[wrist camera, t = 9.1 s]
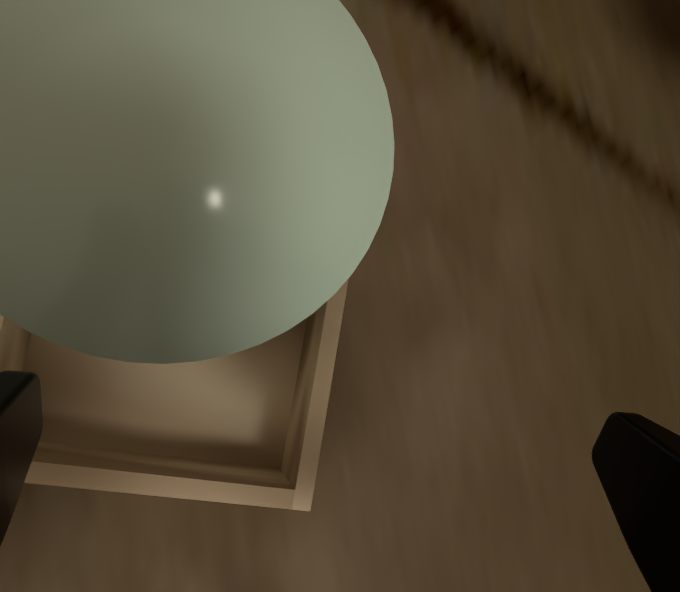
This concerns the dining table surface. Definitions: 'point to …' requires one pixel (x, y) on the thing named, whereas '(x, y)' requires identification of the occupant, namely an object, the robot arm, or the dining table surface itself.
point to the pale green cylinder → (184, 170)
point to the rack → (186, 417)
